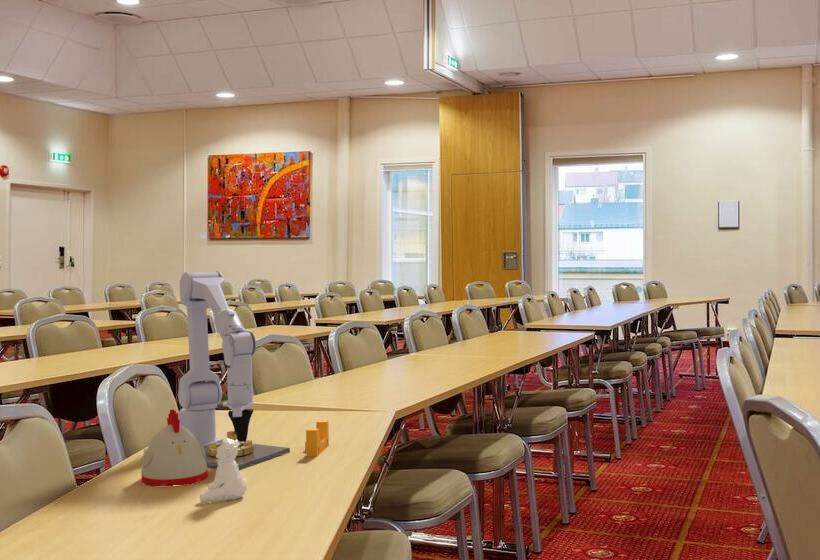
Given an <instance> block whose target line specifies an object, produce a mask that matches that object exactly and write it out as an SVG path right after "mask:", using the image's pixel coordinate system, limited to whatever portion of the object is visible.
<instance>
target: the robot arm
mask: <svg viewBox="0 0 820 560" xmlns="http://www.w3.org/2000/svg"><path fill="white" fill-rule="evenodd" d="M225 286H226V282H225V277H224V275H223V274H222V272H221V271H219V270H216V271H199V272H198V271H196V272H189V271H185V272H183V273H182V275H181V277H180V279H179V297H180V303H181V305H183V306H186V307H185V308H186V316H187V318H186V319H187V334H188V335H187V336H188V354H189V355H188V356H189V370H188V371H187V372H186V373H185V374H184V375H183V376H181V377H180V379H179V385H178V386H179V388H178V393H177V395H178V396H177V397H178V402H179V404H180V406H181V407H182V408H181V409H180V410H179V411H178V412H177V413H178V420H180V425H181V426H183V427H185V428H186V429H188V430H189V431H190V432H191V433H192V434H193V435H194V436H195V438H196V439H197V441H198V442H199V444H200V446H201V445H204V447H206V446H208V443H219V442H220V441H221V440H222V439H223V438H220V437H219V438H217V436H216V435H217V431H216V429H217V427H216V426H217V425H216V409H217V408H218V405H219V404H220V403H221V401H222V398H223V389H222V385H221V383H220V376H219V375H218V374H217V373H215V372H214V371H212V370H211V368H210V367H211V366H210V351H209V350H210V348H209V333H208V332H209V330H208V313H207V312H208V311H207V309H208V307H209V308H210V310H211V311H212V312H213V314H214V316H215V317H214V320H213V324H214V326H215V327H216V330H217V332H218V334H219V335H220V338H221V339H222V343H221V349H222V353H223V357H224V358H223V359H224V363H225V364H224V365H226V373H227V376H226V377H227V379H226V381H227V401H224V402H223V403H222V407H227V408H228V409H230V410H229V411H228V413H227V415H228V418H229V419H230V420H231V422H232V425H233V431H237V433H238V442H246V440H247V439H248V433H249V426H250V422H251V418H252V415H253V413H254V409H253V408H251V407H253V406H254V403H255V402H254V397H253V396H254V394H253V393H254V392H253V391H254V390H253V366H252V365H253V359H252V358H253V356H254V355H255V353H256V351H257V341H256V337H255V335H254V332H253V331H252V330H249V329H248V328H245V327H244V325H243V324H242V321H241V319H240V317H239V316H238V313H237V312H236V311H235V310H232V309H230V307H229V304H228V302H227V300H226V297H225V295H224V294H225V293H224V292H225Z"/></svg>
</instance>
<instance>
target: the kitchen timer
mask: <svg viewBox="0 0 820 560" xmlns="http://www.w3.org/2000/svg"><path fill="white" fill-rule="evenodd" d="M178 413H179V412H177V410H175V409H169V413H168V416H167V418H166V420H167V421H166V423H167V425H166V426H164V427H163V428H161V430H159V431H158V432H157V433H156V434H155V436H154V437H153V438H152V439H151V441H150V443H149V444H148V446H147V448H144V450H143V457H142V461H141V462H142V466H141V472H140V473H141V483H142V484H143V483H144V484H143V485H145V484H146V485H145V486H148V485H150V486H149V487H154V486H173V485H184V484H185V485H184V486H187V485H186V484H190V485H193V484H192V483H194V484H197V483H196V482H198V483H200V481H201V482H203V481H204V480H206V479H207V478H208V475H209V473H208V470H209V469H208V467H207V463H206V460H205V459H206V455H205V450H204V447H205V446H204V445H201V446H200V444H199V442H198V441H197V439H196V438H195V436H194V435H193V434H192V433H191V432H190V431H189V430H188V429H186V428H185V427H183V426H181V425H180V420H178Z"/></svg>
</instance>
